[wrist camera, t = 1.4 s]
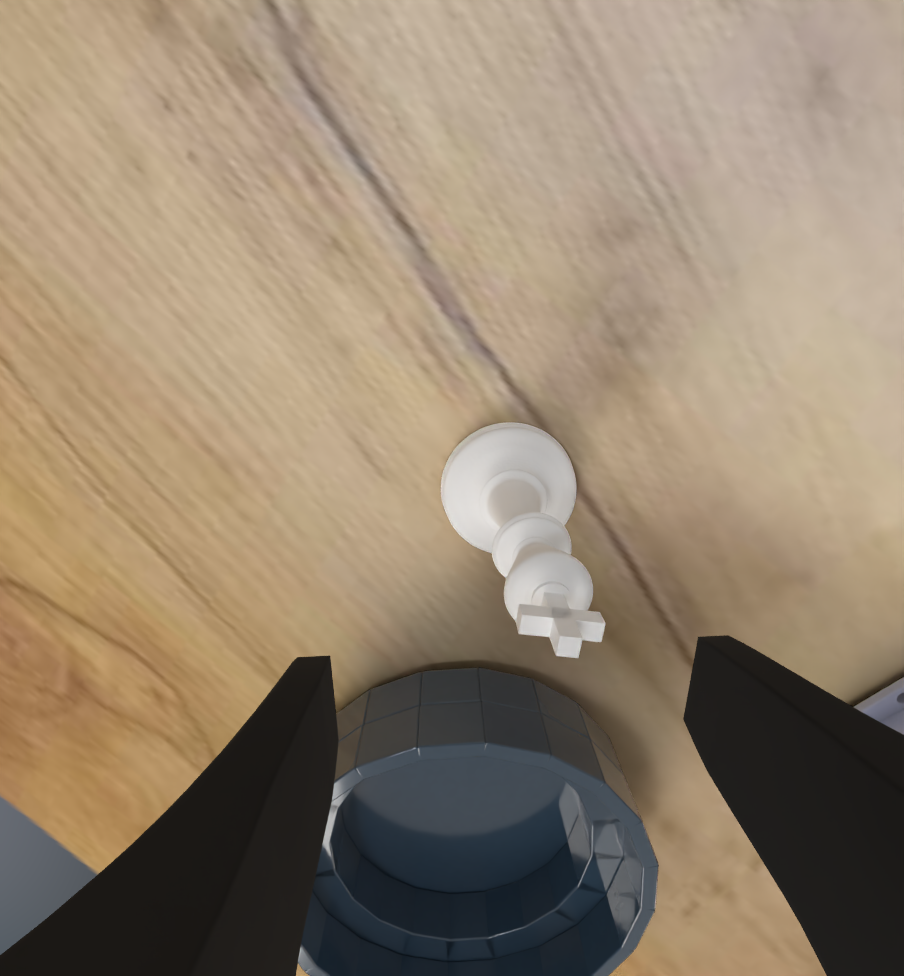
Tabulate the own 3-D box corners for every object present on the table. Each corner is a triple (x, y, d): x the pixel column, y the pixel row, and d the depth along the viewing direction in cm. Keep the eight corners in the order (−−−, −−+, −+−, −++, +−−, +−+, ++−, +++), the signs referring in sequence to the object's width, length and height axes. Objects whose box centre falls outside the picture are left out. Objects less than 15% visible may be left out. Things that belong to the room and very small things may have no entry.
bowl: (485, 595, 21) (495, 668, 16) (678, 806, 24) (730, 914, 20) (234, 780, 23) (185, 886, 19) (441, 948, 27) (440, 1071, 22)
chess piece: (449, 414, 19) (455, 510, 9) (586, 430, 19) (732, 540, 9) (433, 542, 20) (424, 741, 11) (561, 555, 20) (665, 762, 11)
